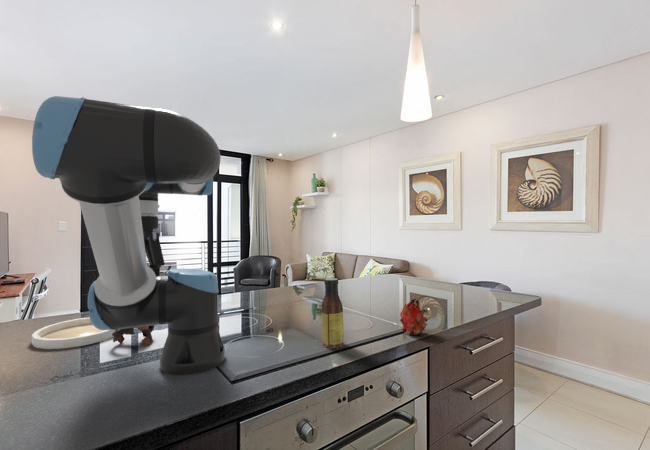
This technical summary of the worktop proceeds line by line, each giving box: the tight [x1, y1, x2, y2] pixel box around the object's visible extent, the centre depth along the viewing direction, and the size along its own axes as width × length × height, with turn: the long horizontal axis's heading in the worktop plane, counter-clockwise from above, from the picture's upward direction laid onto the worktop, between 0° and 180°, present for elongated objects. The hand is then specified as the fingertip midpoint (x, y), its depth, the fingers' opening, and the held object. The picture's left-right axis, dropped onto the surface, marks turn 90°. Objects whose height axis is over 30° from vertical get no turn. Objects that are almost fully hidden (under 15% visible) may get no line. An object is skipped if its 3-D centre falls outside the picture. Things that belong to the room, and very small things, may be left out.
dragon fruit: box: [399, 298, 429, 336], centre depth 101 cm, size 8×8×12 cm
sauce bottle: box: [321, 277, 345, 349], centre depth 91 cm, size 6×6×20 cm
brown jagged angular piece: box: [112, 325, 155, 348], centre depth 93 cm, size 12×9×8 cm
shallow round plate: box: [31, 316, 116, 350], centre depth 99 cm, size 22×22×3 cm
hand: (143, 287), depth 93 cm, fingers open, 13 cm apart
